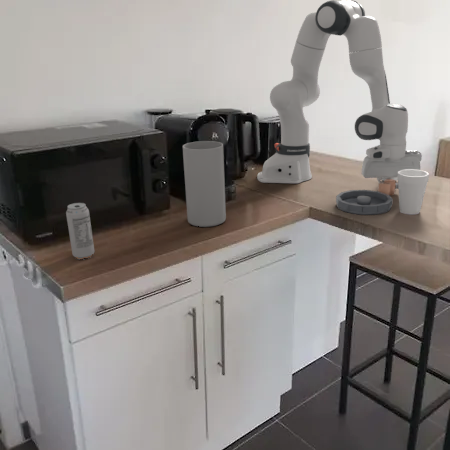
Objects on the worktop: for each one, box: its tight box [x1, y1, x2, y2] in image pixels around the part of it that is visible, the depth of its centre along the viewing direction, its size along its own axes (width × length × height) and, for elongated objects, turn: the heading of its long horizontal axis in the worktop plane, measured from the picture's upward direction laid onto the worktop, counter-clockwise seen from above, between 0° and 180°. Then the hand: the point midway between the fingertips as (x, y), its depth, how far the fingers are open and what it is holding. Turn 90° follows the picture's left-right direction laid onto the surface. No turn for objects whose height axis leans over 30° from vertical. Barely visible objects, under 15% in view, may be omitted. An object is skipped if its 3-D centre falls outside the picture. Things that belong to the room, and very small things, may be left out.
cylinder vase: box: [182, 140, 227, 228], centre depth 162 cm, size 12×12×25 cm
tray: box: [335, 189, 393, 216], centre depth 174 cm, size 18×18×3 cm
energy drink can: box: [65, 202, 95, 258], centre depth 141 cm, size 6×6×15 cm
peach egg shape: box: [383, 179, 397, 196], centre depth 185 cm, size 4×4×5 cm
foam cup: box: [397, 169, 430, 216], centre depth 166 cm, size 10×9×13 cm
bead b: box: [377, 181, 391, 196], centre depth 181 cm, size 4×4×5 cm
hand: (389, 188), depth 185 cm, fingers closed on peach egg shape, 4 cm apart
